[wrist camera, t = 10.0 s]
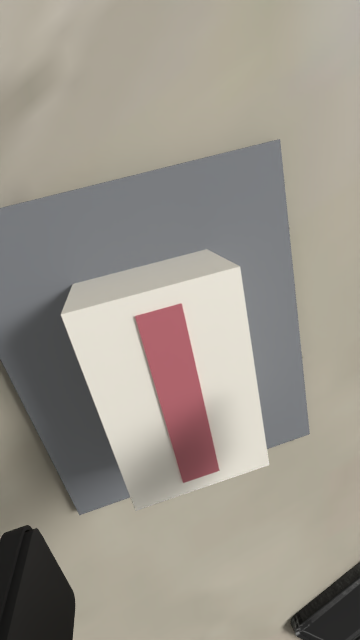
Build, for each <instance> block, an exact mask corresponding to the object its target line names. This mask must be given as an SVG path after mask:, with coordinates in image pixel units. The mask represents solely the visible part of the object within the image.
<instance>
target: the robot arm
mask: <svg viewBox="0 0 360 640" xmlns="http://www.w3.org/2000/svg"><path fill="white" fill-rule="evenodd" d="M74 616H75V597H74V593H73V590H72V588H71V587H70V585H69V583H68V581H67V579H66V578H65V576H64V574H63V572H62V570H61V569H60V567H59V565H58V563H57V562H56V560H55V558H54V556H53V554H52V553H51V551H50V549H49V547H48V545H47V544H46V542H45V540H44V538H43V536H42V535H41V533H40V531H39V530H38V529H37V528H36V529H32V528H31V527H30V526H29V525H26V526H23V527H20V528H17V529H15V530H12V531H9V532H6V533H4V534H3V535H2V537H1V540H0V640H72V639H73V628H74Z"/></svg>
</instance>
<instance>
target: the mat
mask: <svg viewBox="0 0 360 640" xmlns="http://www.w3.org/2000/svg"><path fill="white" fill-rule="evenodd" d="M206 249H207V250H209V251H211V252H213V253H215V254H217V255H219V256H221V257H223V258H225V259H227V260H229V261H231V262H233V263H235V264H236V265H238V266H240V269H241V276H242V283H243V289H244V296H245V303H246V310H247V317H248V324H249V330H250V337H251V344H252V351H253V358H254V365H255V371H256V378H257V385H258V392H259V399H260V406H261V412H262V419H263V426H264V433H265V440H266V446H267V449H269V448H271V447H274V446H277V445H280V444H283V443H286V442H288V441H291V440H294V439H297V438H300V437H303V436H305V435H308V434H310V433H309V423H308V413H307V403H306V394H305V384H304V374H303V364H302V354H301V344H300V334H299V324H298V314H297V304H296V294H295V284H294V274H293V264H292V254H291V244H290V234H289V224H288V214H287V204H286V194H285V184H284V174H283V164H282V154H281V144H280V139H279V140H274V141H270V142H266V143H262V144H258V145H254V146H250V147H246V148H242V149H238V150H234V151H230V152H226V153H222V154H218V155H214V156H210V157H206V158H202V159H197V160H193V161H189V162H185V163H181V164H177V165H173V166H169V167H165V168H161V169H157V170H153V171H149V172H145V173H141V174H137V175H133V176H129V177H125V178H120V179H116V180H112V181H108V182H104V183H100V184H96V185H92V186H88V187H84V188H80V189H76V190H72V191H68V192H64V193H60V194H56V195H52V196H48V197H44V198H39V199H35V200H31V201H27V202H23V203H19V204H15V205H11V206H7V207H3V208H0V360H1V362H2V364H3V366H4V367H5V369H6V371H7V373H8V375H9V377H10V379H11V381H12V383H13V385H14V387H15V389H16V391H17V393H18V395H19V397H20V399H21V401H22V403H23V405H24V407H25V409H26V411H27V413H28V415H29V417H30V419H31V421H32V423H33V425H34V427H35V429H36V430H37V432H38V434H39V436H40V438H41V440H42V442H43V444H44V446H45V448H46V450H47V452H48V454H49V456H50V458H51V460H52V462H53V464H54V466H55V468H56V470H57V472H58V474H59V476H60V478H61V480H62V482H63V484H64V486H65V488H66V490H67V492H68V493H69V495H70V497H71V499H72V501H73V503H74V505H75V507H76V509H77V511H78V513H79V515H81V514H84V513H87V512H90V511H93V510H95V509H98V508H101V507H104V506H107V505H110V504H112V503H115V502H118V501H121V500H124V499H127V498H130V495H129V492H128V490H127V487H126V484H125V482H124V479H123V477H122V474H121V471H120V469H119V466H118V463H117V461H116V458H115V456H114V453H113V450H112V448H111V445H110V442H109V440H108V437H107V435H106V432H105V429H104V427H103V424H102V421H101V419H100V416H99V414H98V411H97V408H96V406H95V403H94V401H93V398H92V395H91V393H90V390H89V387H88V385H87V382H86V380H85V377H84V374H83V372H82V369H81V366H80V364H79V361H78V359H77V356H76V353H75V351H74V348H73V346H72V343H71V340H70V338H69V335H68V332H67V330H66V327H65V325H64V322H63V319H62V317H61V313H62V310H63V307H64V305H65V302H66V300H67V297H68V295H69V292H70V290H71V287H72V285H73V284H75V283H79V282H82V281H86V280H90V279H94V278H98V277H102V276H105V275H109V274H113V273H117V272H121V271H125V270H129V269H132V268H136V267H140V266H144V265H148V264H152V263H156V262H159V261H163V260H167V259H171V258H175V257H179V256H183V255H186V254H190V253H194V252H198V251H202V250H206Z"/></svg>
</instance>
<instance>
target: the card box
mask: <svg viewBox="0 0 360 640" xmlns="http://www.w3.org/2000/svg"><path fill="white" fill-rule="evenodd" d="M61 317H62V319H63V322H64V325H65V327H66V330H67V332H68V335H69V338H70V340H71V343H72V346H73V348H74V351H75V353H76V356H77V359H78V361H79V364H80V366H81V369H82V372H83V374H84V377H85V380H86V382H87V385H88V387H89V390H90V393H91V395H92V398H93V401H94V403H95V406H96V408H97V411H98V414H99V416H100V419H101V421H102V424H103V427H104V429H105V432H106V435H107V437H108V440H109V442H110V445H111V448H112V450H113V453H114V456H115V458H116V461H117V463H118V466H119V469H120V471H121V474H122V477H123V479H124V482H125V484H126V487H127V490H128V492H129V495H130V497H131V500H132V503H133V505H134V508H135V511H137V510H140V509H143V508H145V507H148V506H151V505H154V504H157V503H160V502H163V501H166V500H169V499H172V498H175V497H177V496H180V495H183V494H186V493H189V492H192V491H195V490H198V489H201V488H204V487H206V486H209V485H212V484H215V483H218V482H221V481H224V480H227V479H230V478H233V477H236V476H238V475H241V474H244V473H247V472H250V471H253V470H256V469H259V468H262V467H265V466H268V465H269V460H268V453H267V446H266V440H265V433H264V426H263V419H262V412H261V406H260V399H259V392H258V385H257V378H256V371H255V365H254V358H253V351H252V344H251V337H250V330H249V324H248V317H247V310H246V303H245V296H244V289H243V283H242V276H241V269H240V266H238V265H236V264H235V263H233V262H231V261H229V260H227V259H225V258H223V257H221V256H219V255H217V254H215V253H213V252H211V251H209V250H207V249H206V250H202V251H198V252H194V253H190V254H186V255H183V256H179V257H175V258H171V259H167V260H163V261H159V262H156V263H152V264H148V265H144V266H140V267H136V268H132V269H129V270H125V271H121V272H117V273H113V274H109V275H105V276H102V277H98V278H94V279H90V280H86V281H82V282H79V283H75V284H73V285H72V287H71V290H70V292H69V295H68V297H67V300H66V302H65V305H64V307H63V310H62V313H61Z"/></svg>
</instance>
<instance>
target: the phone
mask: <svg viewBox="0 0 360 640" xmlns="http://www.w3.org/2000/svg"><path fill="white" fill-rule="evenodd" d="M291 625H292V627H293V630H294V632H295V634H296V636H297V637H299V638H301V639H303V640H360V562H359V563H358V564H357V565H356V566H354V567H353V568H352V569H351V570H349V571H348V572H347V573H346V574H344V575H343V576H342V577H341V578H339V579H338V580H337V581H336V582H335V583H333V584H332V585H331V586H330V587H328V588H327V589H326V590H325V591H323V592H322V593H321V594H320V595H318V596H317V597H316V598H315V599H314V600H312V601H311V602H310V603H309V604H307V605H306V606H305V607H304V608H302V609H301V610H300V611H299V612H297V613H296V614H295V615H294V616H293V618H292V619H291Z"/></svg>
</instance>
